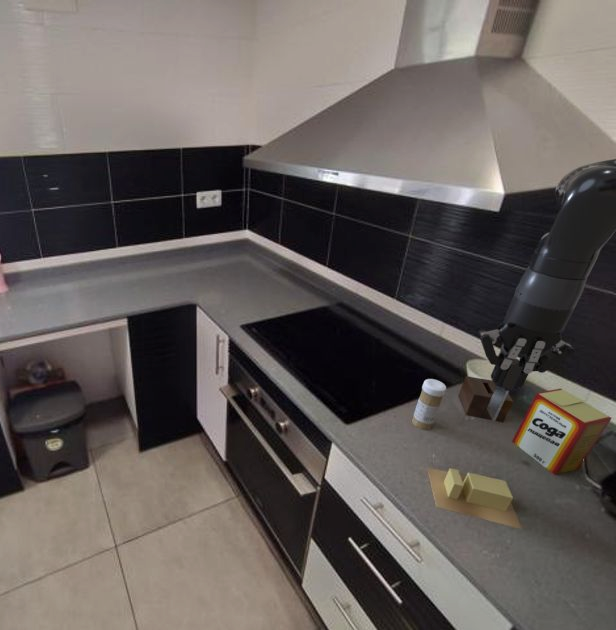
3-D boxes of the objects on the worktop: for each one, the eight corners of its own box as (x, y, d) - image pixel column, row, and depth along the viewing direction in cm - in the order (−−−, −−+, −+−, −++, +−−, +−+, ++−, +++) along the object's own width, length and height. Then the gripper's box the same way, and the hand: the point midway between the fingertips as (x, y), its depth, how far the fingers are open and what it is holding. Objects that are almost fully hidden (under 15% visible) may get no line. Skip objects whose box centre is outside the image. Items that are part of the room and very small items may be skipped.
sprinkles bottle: (429, 424, 95) (445, 381, 89) (431, 436, 91) (448, 392, 85) (409, 419, 96) (423, 376, 90) (410, 431, 93) (425, 387, 87)
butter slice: (452, 483, 78) (458, 469, 76) (457, 499, 75) (463, 486, 73) (443, 481, 78) (449, 467, 77) (448, 497, 75) (454, 483, 73)
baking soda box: (575, 473, 81) (612, 416, 74) (551, 479, 80) (587, 422, 73) (531, 441, 90) (561, 387, 82) (509, 446, 88) (537, 391, 81)
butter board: (501, 489, 78) (503, 485, 78) (520, 533, 70) (522, 529, 69) (425, 470, 82) (427, 466, 82) (434, 510, 74) (436, 506, 73)
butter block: (498, 494, 76) (505, 481, 74) (505, 512, 72) (513, 498, 70) (461, 485, 78) (467, 472, 76) (466, 502, 74) (473, 488, 72)
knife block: (490, 406, 101) (501, 381, 97) (501, 426, 94) (513, 401, 90) (456, 399, 103) (465, 375, 99) (463, 419, 96) (474, 394, 93)
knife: (493, 409, 73) (517, 357, 68) (499, 422, 70) (525, 368, 65) (482, 407, 74) (505, 355, 68) (488, 419, 71) (512, 366, 65)
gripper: (501, 301, 60) (465, 389, 68) (612, 314, 55) (560, 406, 63) (487, 284, 66) (455, 366, 74) (586, 294, 62) (541, 381, 70)
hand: (504, 384), depth 69 cm, fingers closed on knife, 2 cm apart
